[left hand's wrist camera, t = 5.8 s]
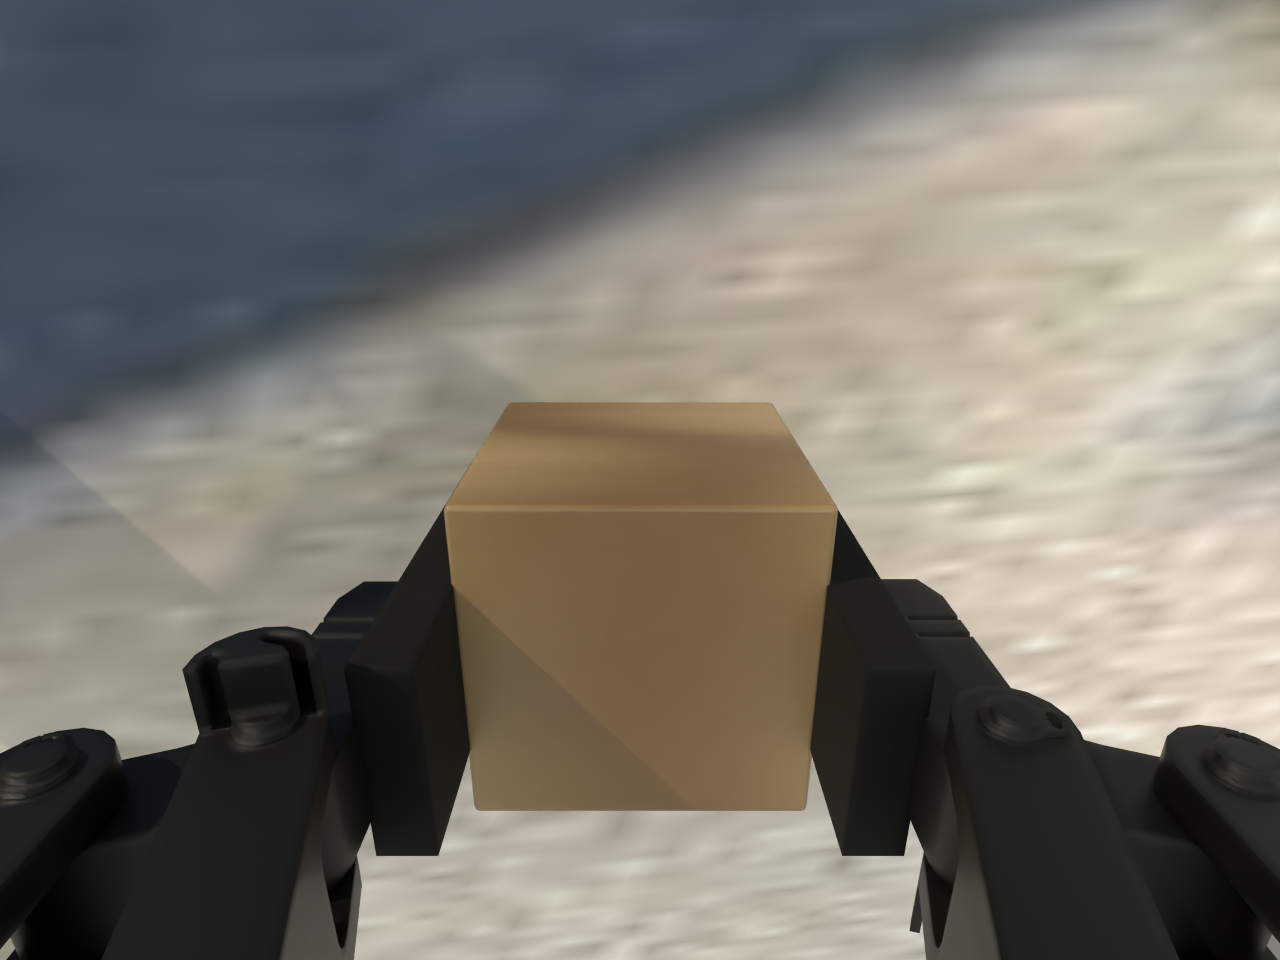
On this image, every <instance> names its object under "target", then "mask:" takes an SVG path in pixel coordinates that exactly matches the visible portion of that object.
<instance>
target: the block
mask: <svg viewBox="0 0 1280 960" xmlns="http://www.w3.org/2000/svg"><path fill="white" fill-rule="evenodd" d="M837 514H838V509H837V506H836V504H835V503H834V501H833V500H832V498H831V496H830V495H829V493H828V492H827V490H826V489H825V487H824V485H823V484H822V482H821V481H820V479H819V477H818V476H817V474H816V473H815V471H814V469H813V468H812V466H811V465H810V463H809V462H808V460H807V458H806V457H805V455H804V454H803V452H802V450H801V449H800V447H799V446H798V444H797V442H796V441H795V439H794V438H793V436H792V434H791V433H790V431H789V430H788V428H787V427H786V425H785V423H784V422H783V420H782V419H781V417H780V415H779V414H778V412H777V411H776V409H775V407H774V406H773V404H771V403H509V404H508V405H507V407H506V408H505V410H504V412H503V413H502V415H501V416H500V418H499V420H498V421H497V423H496V425H495V426H494V428H493V429H492V431H491V433H490V434H489V436H488V437H487V439H486V441H485V442H484V444H483V446H482V447H481V449H480V450H479V452H478V454H477V455H476V457H475V459H474V460H473V462H472V463H471V465H470V467H469V468H468V470H467V471H466V473H465V475H464V476H463V478H462V480H461V481H460V483H459V484H458V486H457V488H456V489H455V491H454V493H453V494H452V496H451V497H450V499H449V501H448V502H447V504H446V505H445V508H444V517H445V527H446V536H447V546H448V556H449V565H450V575H451V583H452V585H453V589H454V599H455V609H456V618H457V628H458V638H459V647H460V657H461V666H462V676H463V686H464V695H465V705H466V714H467V724H468V734H469V743H470V753H469V757H470V767H471V777H472V786H473V796H474V805H475V808H476V809H477V810H479V811H801V810H804V809H805V808H806V804H807V796H808V786H809V777H810V767H811V758H812V754H811V751H810V748H811V738H812V729H813V719H814V710H815V700H816V690H817V681H818V671H819V662H820V652H821V643H822V633H823V624H824V614H825V604H826V595H827V585H830V580H831V571H832V561H833V552H834V542H835V533H836V524H837Z"/></svg>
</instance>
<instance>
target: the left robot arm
mask: <svg viewBox="0 0 1280 960" xmlns="http://www.w3.org/2000/svg"><path fill="white" fill-rule="evenodd" d="M470 465H471V464H470ZM469 467H470V466H469ZM469 467H468V468H469ZM467 470H468V469H467ZM465 473H466V472H465ZM464 475H465V474H464ZM462 478H463V477H462ZM461 480H462V479H461ZM461 480H460V481H461ZM459 483H460V482H459ZM457 486H458V485H457ZM456 488H457V487H456ZM454 491H455V490H454ZM453 493H454V492H453ZM453 493H452V494H453ZM451 496H452V495H451ZM449 499H450V498H449ZM448 501H449V500H448ZM446 504H447V503H446ZM444 508H445V506H444ZM444 508H443V510H442V511H441V513H440V515H439V516H438V518H437V519H436V521H435V523H434V524H433V526H432V528H431V529H430V531H429V532H428V534H427V536H426V537H425V539H424V541H423V542H422V544H421V545H420V547H419V549H418V550H417V552H416V554H415V555H414V557H413V558H412V560H411V562H410V563H409V565H408V567H407V568H406V570H405V571H404V573H403V575H402V576H401V578H400V580H399V581H398V582H363V583H361V584H360V585H358V586H357V587H355V588H354V589H352V590H351V591H349V592H348V593H346V594H345V595H343V596H342V597H340V598H339V599H338V600H337V601H336V602H335V604H334V605H333V607H332V608H331V609H330V611H329V612H328V613H327V615H326V616H325V617H324V622H323V623H320V624H319V626H318V627H317V628H316V630H315V631H314V632H313V634H312V635H310V634H309V633H308V632H307V631H305V630H300V629H296V628H292V627H263V628H258V629H254V630H249V631H244V632H240V633H237V634H234V635H232V636H229V637H227V638H224V639H222V640H219V641H217V642H215V643H213V644H211V645H210V646H208V647H207V648H205V649H204V650H202V651H201V652H199V653H197V654H196V655H195V656H194V657H193V658H192V659H191V660H190V661H189V663H188V664H187V665H186V666H185V667H184V668H183V669H182V670H183V674H184V677H185V681H186V685H187V689H188V692H189V696H190V700H191V703H192V707H193V711H194V714H195V718H196V722H197V726H198V729H199V733H200V734H199V736H198V738H197V741H196V743H195V744H192V745H188V746H184V747H181V748H177V749H172V750H167V751H163V752H158V753H153V754H148V755H144V756H139V757H134V758H129V759H125V760H121V757H120V754H119V751H118V748H117V745H116V742H115V739H113V738H112V737H111V736H110V735H108V734H107V733H106V732H105V731H101V730H95V729H88V728H79V729H71V730H63V731H56V732H52V733H48V734H44V735H43V736H37V737H35V738H32V739H29V740H26V741H24V742H22V743H21V744H19V745H17V746H15V747H13V748H11V749H9V750H7V751H5V752H2V753H0V949H1V948H2V947H3V945H4V944H5V943H6V942H7V941H8V939H9V938H11V940H12V943H13V945H14V947H15V950H14V951H13V952H12V954H11V955H10V956H9V957H8V959H7V960H354V953H355V943H356V934H357V925H358V915H359V906H360V897H361V887H362V883H361V877H360V870H359V864H358V859H357V853H358V851H359V848H360V846H361V844H362V841H363V839H364V837H365V834H366V832H367V830H368V827H369V825H370V823H371V827H372V833H373V839H374V844H375V850H376V856H438V855H439V852H440V848H441V845H442V842H443V839H444V835H445V832H446V829H447V825H448V822H449V819H450V815H451V812H452V809H453V805H454V802H455V799H456V796H457V792H458V789H459V786H460V782H461V779H462V776H463V772H464V769H465V766H466V762H467V759H468V756H469V753H470V743H469V734H468V724H467V714H466V705H465V695H464V686H463V676H462V666H461V657H460V647H459V638H458V628H457V618H456V609H455V599H454V589H453V585H452V583H451V575H450V565H449V556H448V546H447V536H446V527H445V517H444ZM810 751H811V754H812V757H813V761H814V764H815V767H816V771H817V774H818V777H819V781H820V784H821V787H822V791H823V794H824V797H825V800H826V804H827V807H828V810H829V814H830V817H831V820H832V824H833V827H834V830H835V833H836V837H837V840H838V843H839V847H840V850H841V853H842V856H904V853H905V847H906V842H907V836H908V830H909V825H910V820H911V822H912V825H913V827H914V829H915V832H916V834H917V836H918V839H919V841H920V843H921V846H922V848H923V850H924V854H923V859H922V864H921V870H920V875H919V880H918V886H917V891H916V896H915V902H914V907H913V912H912V918H911V925H910V931H912V932H917V933H920V928H921V923H923V932H924V942H925V951H926V960H1278V959H1277V958H1276V957H1275V956H1274V955H1273V953H1272V952H1271V951H1270V950H1269V948H1268V947H1267V944H1268V942H1269V940H1270V938H1271V935H1272V934H1273V935H1274V937H1275V938H1276V939H1277V940H1278V941H1279V943H1280V749H1278V748H1276V747H1274V746H1272V745H1270V744H1268V743H1266V742H1264V741H1262V740H1260V739H1258V738H1256V737H1254V736H1251V735H1248V734H1245V733H1239V732H1238V731H1235V730H1231V729H1226V728H1220V727H1212V726H1204V725H1193V726H1186V727H1179V728H1177V729H1176V730H1175V731H1173V732H1172V733H1171V734H1169V735H1168V736H1167V738H1166V741H1165V744H1164V747H1163V750H1162V753H1161V756H1160V757H1157V756H1152V755H1147V754H1143V753H1138V752H1133V751H1128V750H1124V749H1119V748H1114V747H1109V746H1104V745H1101V744H1097V743H1093V742H1090V741H1086V740H1084V739H1083V737H1082V735H1081V732H1080V731H1079V730H1078V728H1077V727H1076V726H1075V724H1074V723H1073V721H1072V720H1071V719H1070V717H1069V716H1067V715H1066V714H1065V713H1063V712H1062V711H1061V710H1059V709H1058V708H1057V707H1055V706H1054V705H1053V704H1051V703H1050V702H1047V701H1045V700H1043V699H1041V698H1039V697H1037V696H1034V695H1032V694H1030V693H1028V692H1024V691H1020V690H1016V689H1012V688H1010V686H1009V685H1008V684H1007V682H1006V681H1005V680H1004V678H1003V677H1002V676H1001V674H1000V673H999V671H998V670H997V669H996V667H995V666H994V665H993V663H992V662H991V661H990V659H989V658H988V657H987V655H986V654H985V653H984V651H983V650H982V649H981V647H980V646H979V645H978V643H977V642H976V641H975V639H974V638H973V637H970V632H969V631H968V630H967V628H966V627H965V626H964V624H963V623H962V622H961V620H958V619H957V615H956V614H955V612H954V611H953V610H952V608H951V607H950V605H949V604H948V603H947V601H946V600H945V599H944V597H943V596H941V595H940V594H938V593H937V592H935V591H934V590H932V589H931V588H929V587H928V586H926V585H925V584H923V583H922V582H920V581H919V580H917V579H880V577H879V575H878V574H877V572H876V571H875V569H874V567H873V566H872V564H871V562H870V561H869V559H868V558H867V556H866V554H865V553H864V551H863V549H862V548H861V546H860V545H859V543H858V541H857V540H856V538H855V536H854V535H853V533H852V532H851V530H850V528H849V527H848V525H847V523H846V522H845V520H844V519H843V517H842V515H841V514H840V512H839V510H838V514H837V524H836V533H835V542H834V552H833V561H832V571H831V580H830V585H827V595H826V604H825V614H824V624H823V633H822V643H821V652H820V662H819V671H818V681H817V690H816V700H815V710H814V719H813V729H812V738H811V748H810Z"/></svg>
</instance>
